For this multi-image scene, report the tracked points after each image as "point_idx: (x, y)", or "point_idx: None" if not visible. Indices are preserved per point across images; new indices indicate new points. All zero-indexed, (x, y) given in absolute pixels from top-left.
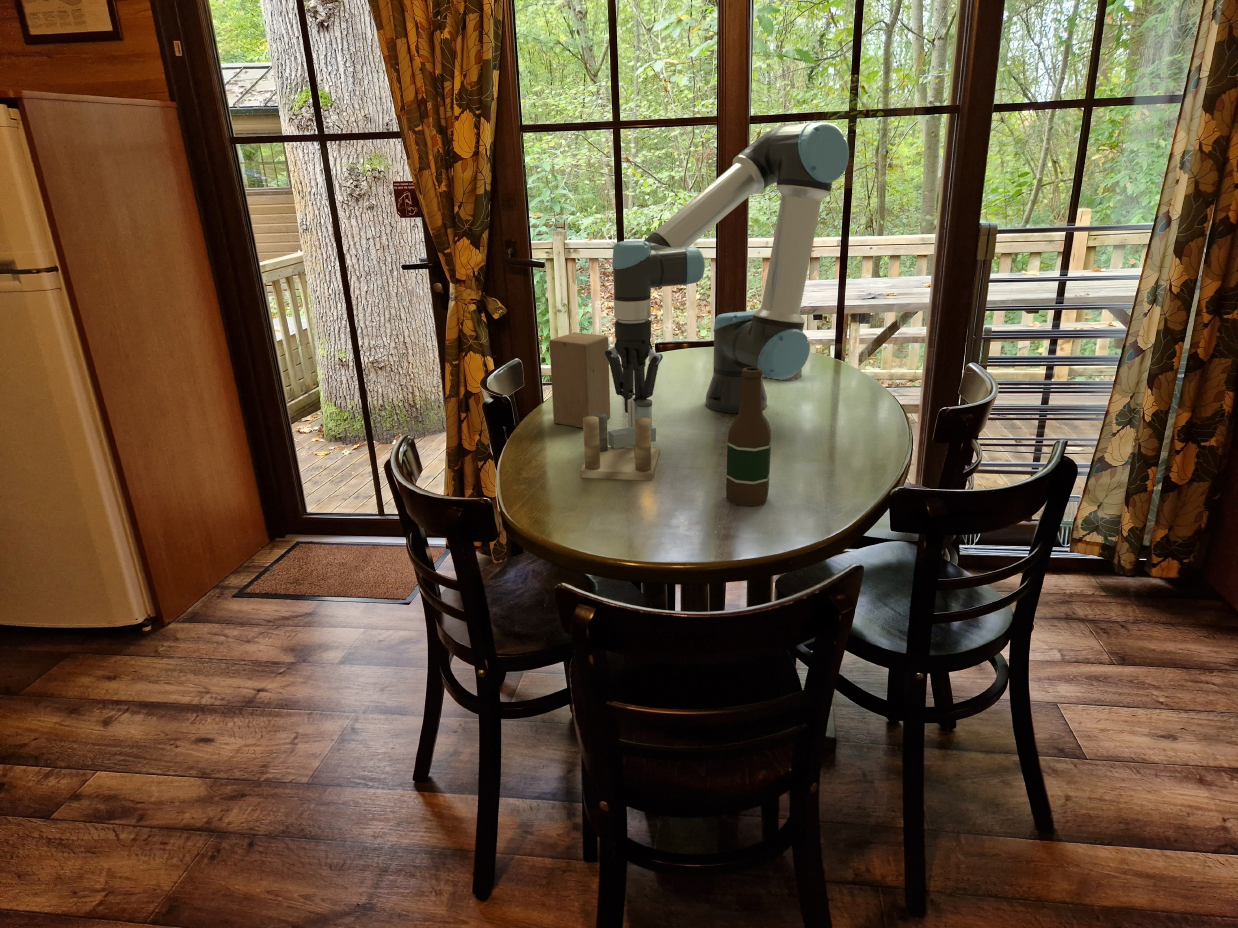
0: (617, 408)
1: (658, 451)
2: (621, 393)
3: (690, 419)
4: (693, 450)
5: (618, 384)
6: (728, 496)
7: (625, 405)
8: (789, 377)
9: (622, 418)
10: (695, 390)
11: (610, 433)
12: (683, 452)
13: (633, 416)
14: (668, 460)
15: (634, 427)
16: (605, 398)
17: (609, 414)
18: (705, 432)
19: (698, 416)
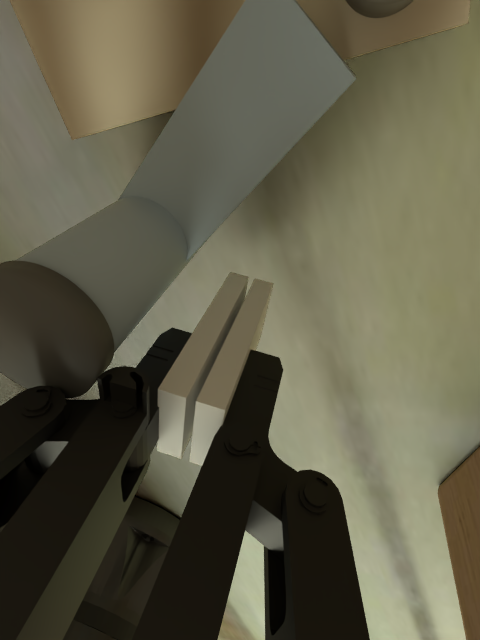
0: (424, 545)
1: (51, 87)
2: (285, 487)
3: (184, 467)
4: (29, 234)
5: (299, 599)
6: None
7: (268, 393)
8: None
9: (388, 482)
10: (254, 592)
11: (318, 31)
12: (42, 203)
13: (214, 316)
14: (26, 74)
15: (197, 231)
16: (473, 567)
17: (441, 498)
18: (98, 389)
19: (176, 482)
